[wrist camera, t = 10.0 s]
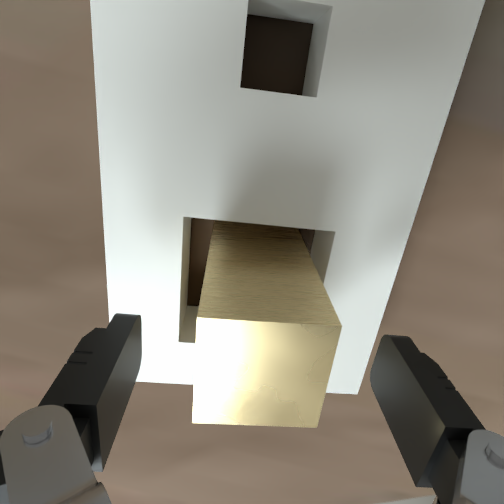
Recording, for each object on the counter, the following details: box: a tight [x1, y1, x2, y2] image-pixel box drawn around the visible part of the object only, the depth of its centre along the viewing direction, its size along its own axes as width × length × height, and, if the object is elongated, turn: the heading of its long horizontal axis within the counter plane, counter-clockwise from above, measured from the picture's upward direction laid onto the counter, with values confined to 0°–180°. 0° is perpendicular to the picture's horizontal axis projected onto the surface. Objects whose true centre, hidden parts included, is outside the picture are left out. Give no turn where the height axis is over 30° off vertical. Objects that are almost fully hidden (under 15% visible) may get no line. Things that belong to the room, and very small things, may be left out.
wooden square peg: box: [192, 220, 342, 428], centre depth 14 cm, size 4×4×8 cm
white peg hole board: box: [90, 0, 485, 394], centre depth 14 cm, size 12×20×3 cm, turn 173°
